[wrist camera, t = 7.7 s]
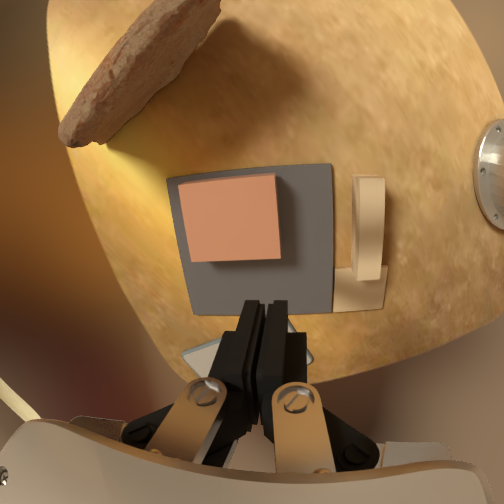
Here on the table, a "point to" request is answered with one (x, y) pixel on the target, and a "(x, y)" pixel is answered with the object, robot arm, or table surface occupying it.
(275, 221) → the tile
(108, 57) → the stone
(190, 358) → the smartphone
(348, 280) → the turner
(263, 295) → the mat
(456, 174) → the table surface
